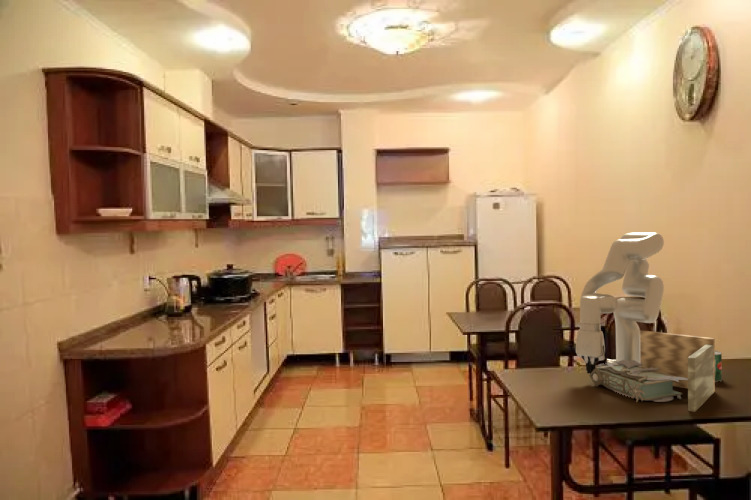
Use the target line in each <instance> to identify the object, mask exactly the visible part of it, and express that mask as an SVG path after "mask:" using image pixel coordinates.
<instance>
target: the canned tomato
mask: <svg viewBox="0 0 751 500" xmlns="http://www.w3.org/2000/svg"><path fill="white" fill-rule="evenodd" d="M722 354H723V353H722V352H721V351H718V350H715V383H718V381H720V382H722V380H723V379H722V377H723V376H722V375H723V373H722V371H723V370H722V367H723V366H722V362H723V360H722Z"/></svg>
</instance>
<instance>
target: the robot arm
mask: <svg viewBox="0 0 751 500" xmlns="http://www.w3.org/2000/svg"><path fill="white" fill-rule="evenodd" d="M664 243H665V241H664V238H663V236H662V234H661V233H660V232H659V233H658V232H628V233H627V232H626V233H624V234H623V235H622V236H621V237H620V239H615V240H614V241H613V242H612V243H611V245H610V248H609V251H608V254H607V256H606V259H605V261H604V264H603V266H602V269H601V270H600V271H598V272H597V273H595V274H594V275H593V276H592V277H591V278H589V279H588V281H587V282H586V283H585V284H584V287H583V289H582V293H581V295H580V299H579V322H577V323H576V326H577V327H579V329H577V334H576V341H575V353H576V356H577V357H578V358H581V359H582V360H583V361H584V363H585V367H586V369H585V370H586V373H587V374H588V375H590V374H591V372H592V371H593V370H594V369H595V368H596V364H597V362H599V361H604V360H605V359H606V365H607V364H611V363H614V365H617V364H616V362H619V361H621V360H624V359H625V360H628V361H632V360H635V361H637V362H639V363H641V357H640V331H641V329H640V326H639V324H638V323H645V324H651V323H654V322H656V321H657V319H658V317H659V314H660V308H661V305H662V301H663V297H664V296H663V295H664V291H665V289H664V288H665V287H664V286H665V285H664V282H663V281H664V280H663V279H662V278H661V277H660V276H658V275H654V274H648V273H649V267H650V264H649V261H648V259H649V258H650V257H652V256H654V255H657V254H658V253H659V252H661V250H662V249H663V248H664V245H665V244H664ZM621 279H623V280H622V284H621V285H622V286H621V289H622V292H623V293H624V294H625V295H626V296H629V297H621V298H616V297H615V296H613V295H611V294H604V293H597V292H598V290H600V289H601V288H602V287H603V286H606V285H608V284H612V283H614V282H616V281H619V280H621ZM634 297H635V298H634ZM636 297H638V298H636ZM639 297H641V298H642V299H641V298H639ZM643 298H644V299H643ZM612 313H613V316H614V321H615V324H614V325H615V359H610V358H606V357H605V354H606V345H605V338H604V333H603V331H602V329H601V328H602V325H601V319H602V318H601V317H602V316H601V315H602V314H612Z"/></svg>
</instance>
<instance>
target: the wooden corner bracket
mask: <svg viewBox="0 0 751 500" xmlns="http://www.w3.org/2000/svg"><path fill="white" fill-rule="evenodd" d="M715 348H716V347H715V338H714V337H707V336H697V335H688V334H677V333H667V332H660V331H650V330H640V357H641V364H642V365H643V366H641V367H645V368H651V367H653V368H658V367H659V369H658V370H653V371H656V372H662V373H666V374H669V375H672V376H676V377H683V378H687V379H688V380H678V381H679V382H677V381H673V387H677V388H682V389H683V388H684V389H687V402H688V403H687V407H688V408H687V410H688V411H689V412H693V413H696V412H697V411H698V409H700V407H702V406H703V404H705V403H706V402H707V400H708V399H709V398H710V397H711V396H712V395H713V394H714V393H715V392H716V391H715V388H716V386H715V384H716V382H715V351H716V350H715Z"/></svg>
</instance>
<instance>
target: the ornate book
mask: <svg viewBox="0 0 751 500" xmlns="http://www.w3.org/2000/svg"><path fill="white" fill-rule="evenodd" d="M616 364H617V365H614V363H611V364H607V363H606V365H604V366H602V365H603V363H600V364H598V365H596V366H595V369H594V370H593V371H592V372H591V374H590V373H589V377H590V379H591V381H592V383H593V384H594V386H595V387H596V388H597V387H598V386H600V385H601V386H603V387H605V388H607V389H608V390H611V391H613V392H614V393H616V392H617V393H616V394H618V393H619V395H621V394H622V396H624V395H625V397H627V396H628V397H627V398H630V397H631V398H630V399H634V398H635V400H636V401H635V403H638V402H639V401H647V402H648V401H653V402H658V403H660V402H661V403H665V402H671V401H673V400H674V397H677V399H679V400H682V397H681V395H683V392H681V391H680V392H679V391H677V390H674V389H673V387H674V386H673V381H677V382H679V381H678V380H688V379H687V378H683V377H676V376H672V375H669V374H666V373H662V372H656V371H653V370H658V369H659V367H658V368H653V367H651V368H645V367H641V366H643V365H642V364H641V363H639V362H637V361H635V360H632V361H628V360H625V359H624V360H621V361H619V362H616Z"/></svg>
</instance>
